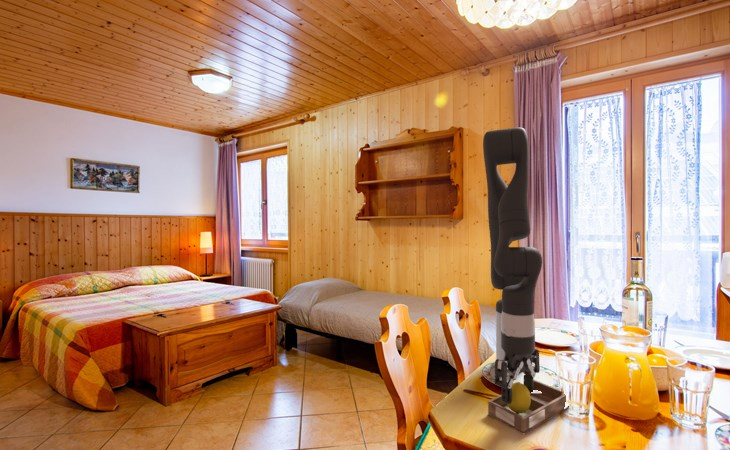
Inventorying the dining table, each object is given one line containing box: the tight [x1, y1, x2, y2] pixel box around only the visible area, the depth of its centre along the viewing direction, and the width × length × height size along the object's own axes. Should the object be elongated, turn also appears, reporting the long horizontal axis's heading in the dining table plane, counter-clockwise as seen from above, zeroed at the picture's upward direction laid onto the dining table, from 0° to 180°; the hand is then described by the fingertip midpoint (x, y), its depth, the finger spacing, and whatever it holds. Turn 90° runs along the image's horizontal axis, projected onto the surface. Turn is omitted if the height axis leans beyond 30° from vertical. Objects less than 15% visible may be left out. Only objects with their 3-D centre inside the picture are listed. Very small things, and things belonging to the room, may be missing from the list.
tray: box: [487, 379, 566, 435], centre depth 94 cm, size 19×10×4 cm, turn 124°
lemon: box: [507, 381, 531, 414], centre depth 91 cm, size 6×6×8 cm
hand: (517, 396), depth 91 cm, fingers open, 8 cm apart
